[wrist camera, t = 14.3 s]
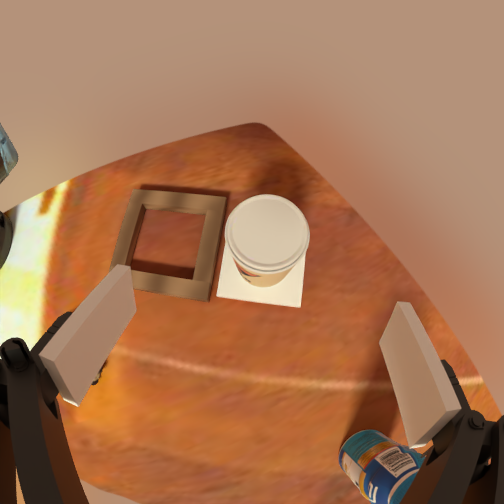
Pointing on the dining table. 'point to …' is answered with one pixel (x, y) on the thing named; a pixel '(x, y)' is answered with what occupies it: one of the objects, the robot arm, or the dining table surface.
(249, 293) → the white tile
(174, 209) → the square frame
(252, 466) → the dining table surface
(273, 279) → the coffee cup
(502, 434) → the robot arm
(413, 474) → the beverage bottle
